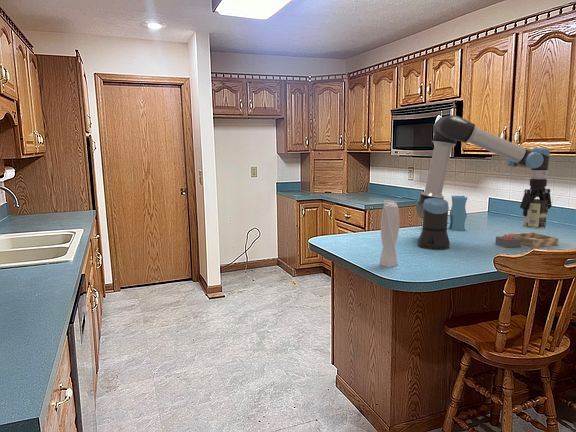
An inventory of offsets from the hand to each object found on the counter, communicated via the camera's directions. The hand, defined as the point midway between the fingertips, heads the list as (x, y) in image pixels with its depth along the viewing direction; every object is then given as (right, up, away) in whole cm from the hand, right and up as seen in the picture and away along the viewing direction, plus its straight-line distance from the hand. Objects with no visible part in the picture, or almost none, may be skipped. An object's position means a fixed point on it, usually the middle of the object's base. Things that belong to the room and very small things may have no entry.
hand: (534, 221), depth 220 cm
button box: (-16, -12, -4) cm, 20 cm away
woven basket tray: (0, -11, +2) cm, 11 cm away
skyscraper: (-84, -18, -39) cm, 95 cm away
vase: (-26, -5, +36) cm, 45 cm away
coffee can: (0, -3, 0) cm, 3 cm away
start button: (-16, -11, -5) cm, 20 cm away
